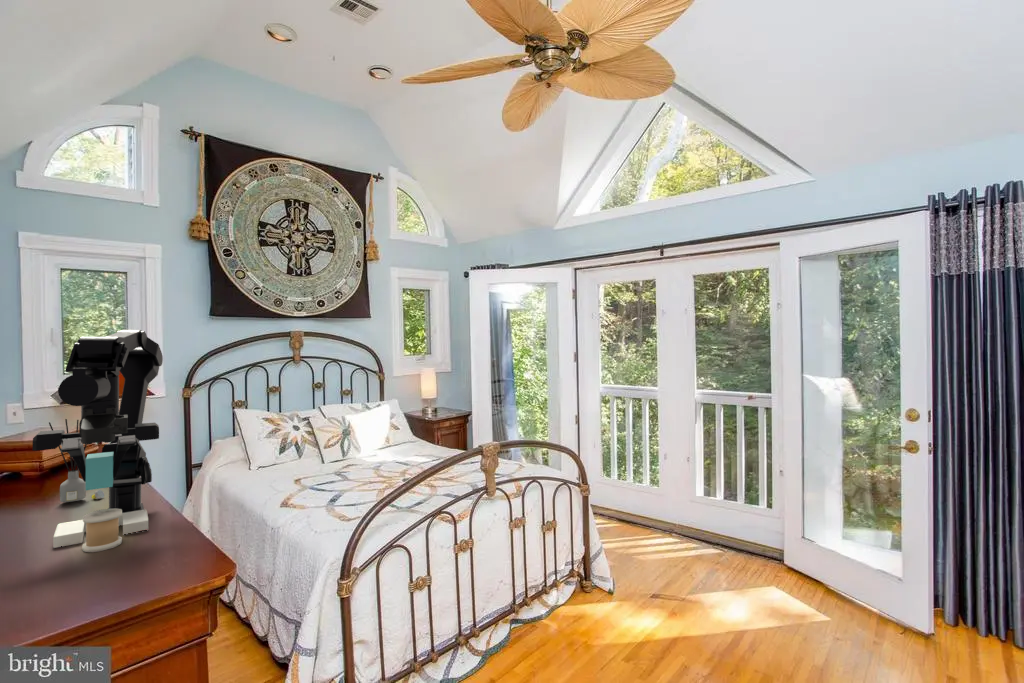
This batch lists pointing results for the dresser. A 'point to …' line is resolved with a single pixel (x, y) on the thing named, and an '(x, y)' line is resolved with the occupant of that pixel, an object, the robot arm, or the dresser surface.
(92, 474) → the teal rectangular block
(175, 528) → the dresser surface
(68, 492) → the reed diffuser
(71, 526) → the notched board
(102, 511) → the bobbin
